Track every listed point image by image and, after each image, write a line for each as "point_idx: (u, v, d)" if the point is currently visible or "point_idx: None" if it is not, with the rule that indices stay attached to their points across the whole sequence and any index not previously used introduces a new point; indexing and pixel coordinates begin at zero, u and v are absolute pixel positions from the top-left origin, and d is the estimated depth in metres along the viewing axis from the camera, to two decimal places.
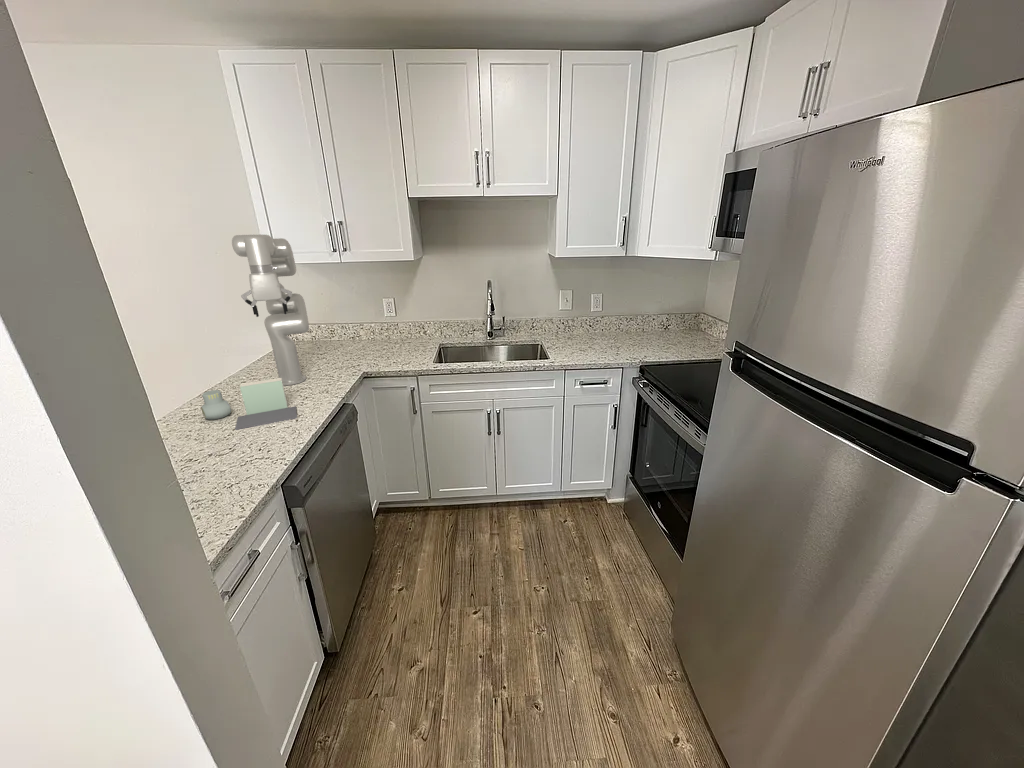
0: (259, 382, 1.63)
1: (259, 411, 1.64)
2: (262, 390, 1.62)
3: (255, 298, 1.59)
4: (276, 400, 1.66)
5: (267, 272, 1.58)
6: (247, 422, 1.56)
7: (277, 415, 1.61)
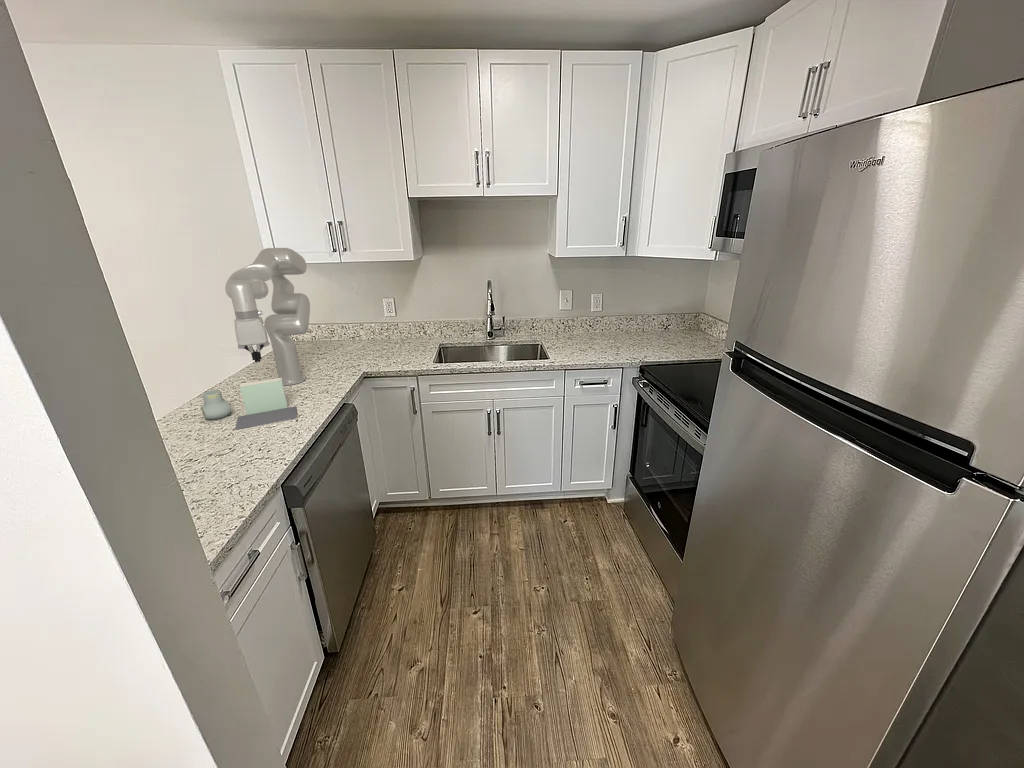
0: (259, 382, 1.63)
1: (259, 411, 1.64)
2: (262, 390, 1.62)
3: (240, 343, 1.61)
4: (276, 400, 1.66)
5: (252, 318, 1.59)
6: (247, 422, 1.56)
7: (277, 415, 1.61)
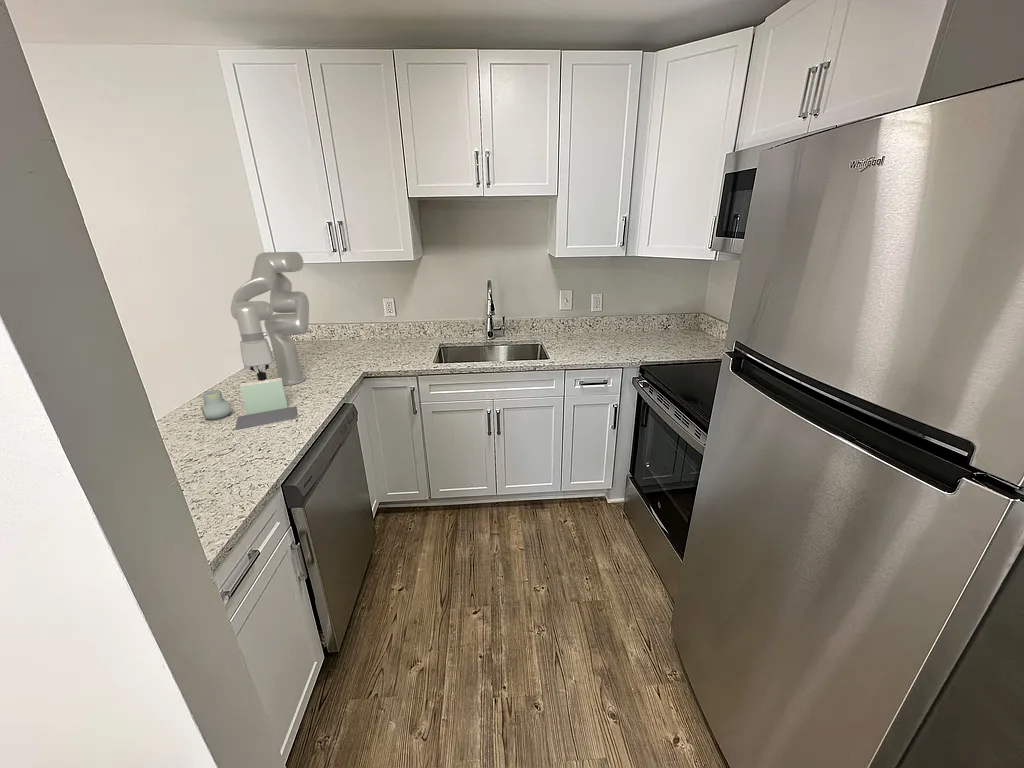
0: (259, 382, 1.63)
1: (259, 411, 1.64)
2: (262, 390, 1.62)
3: (246, 364, 1.64)
4: (276, 400, 1.66)
5: (257, 340, 1.62)
6: (247, 422, 1.56)
7: (277, 415, 1.61)
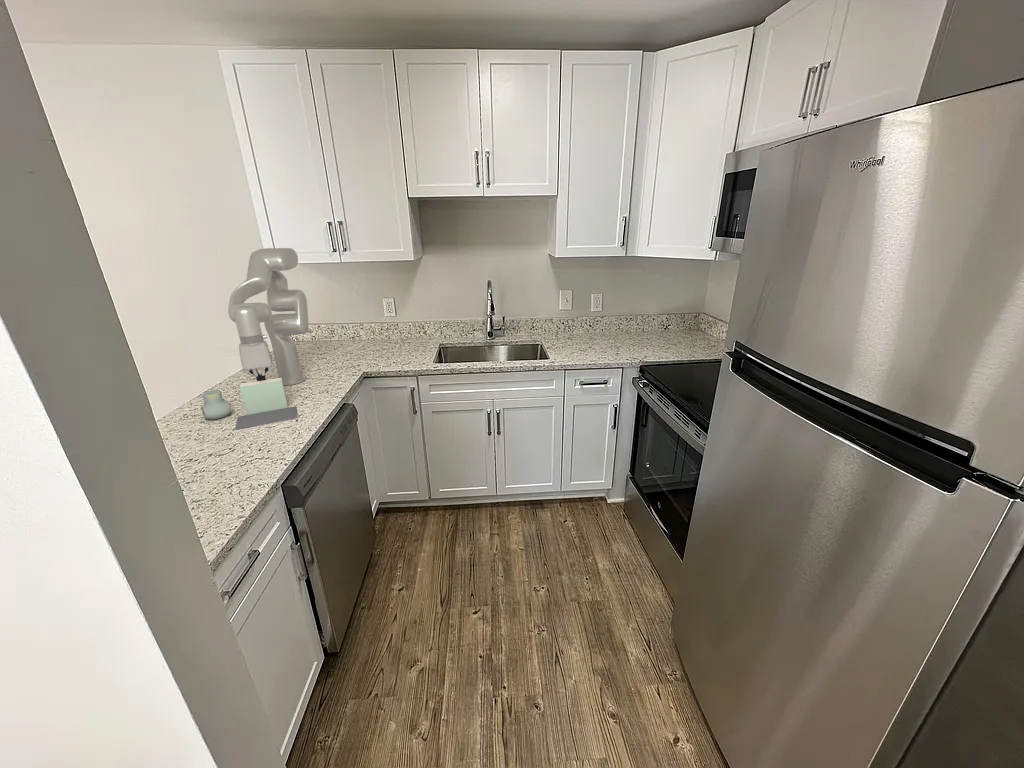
0: (259, 382, 1.63)
1: (259, 411, 1.64)
2: (262, 390, 1.62)
3: (245, 367, 1.60)
4: (276, 400, 1.66)
5: (256, 342, 1.58)
6: (247, 422, 1.56)
7: (277, 415, 1.61)
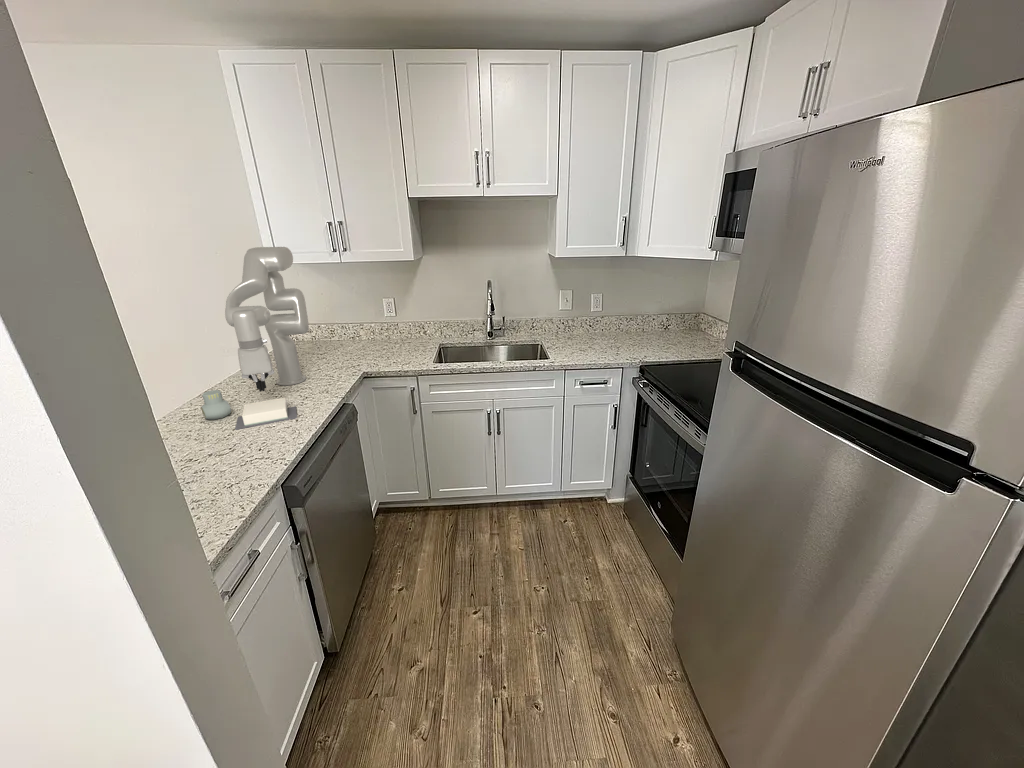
0: (263, 416, 1.55)
1: None
2: None
3: (244, 373, 1.55)
4: None
5: (256, 347, 1.53)
6: None
7: None
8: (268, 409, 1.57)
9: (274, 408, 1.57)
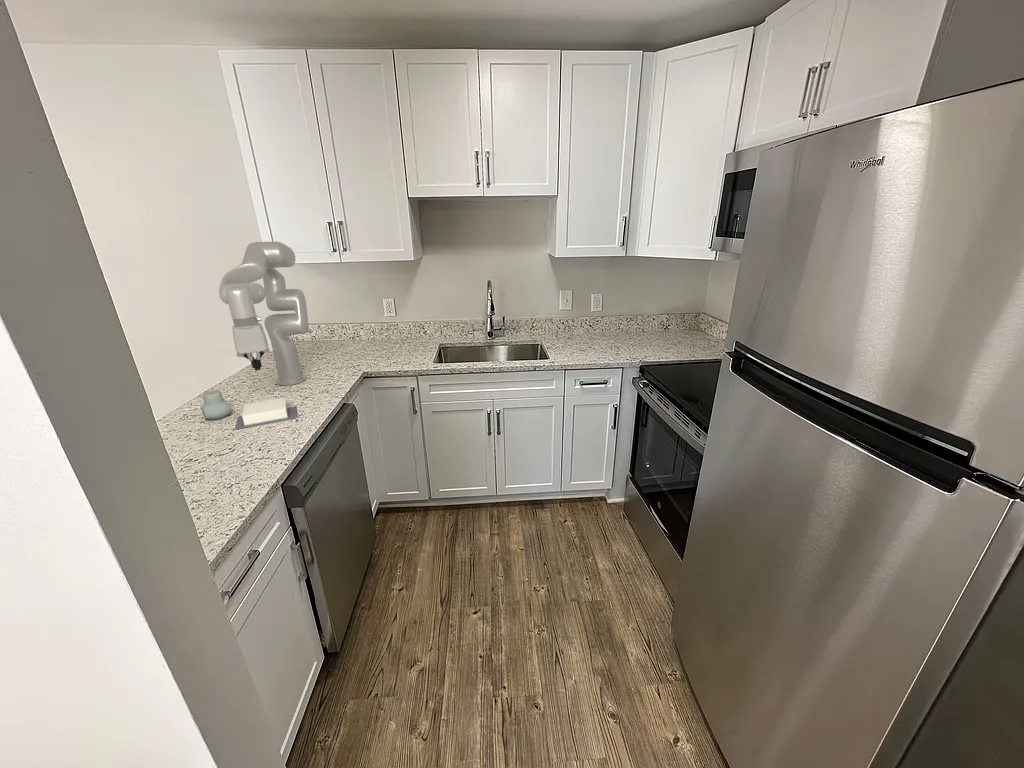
0: (263, 416, 1.55)
1: None
2: None
3: (239, 351, 1.52)
4: None
5: (251, 325, 1.50)
6: None
7: None
8: (268, 409, 1.57)
9: (274, 408, 1.57)
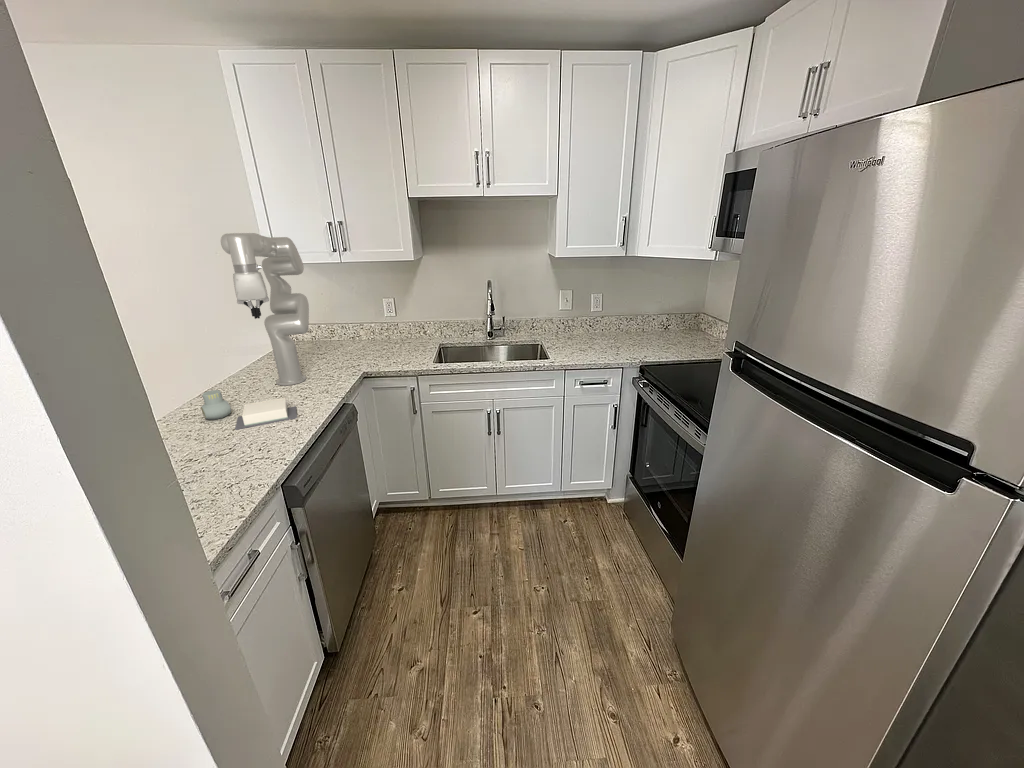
0: (263, 416, 1.55)
1: None
2: None
3: (239, 298, 1.57)
4: None
5: (251, 271, 1.55)
6: None
7: None
8: (268, 409, 1.57)
9: (274, 408, 1.57)
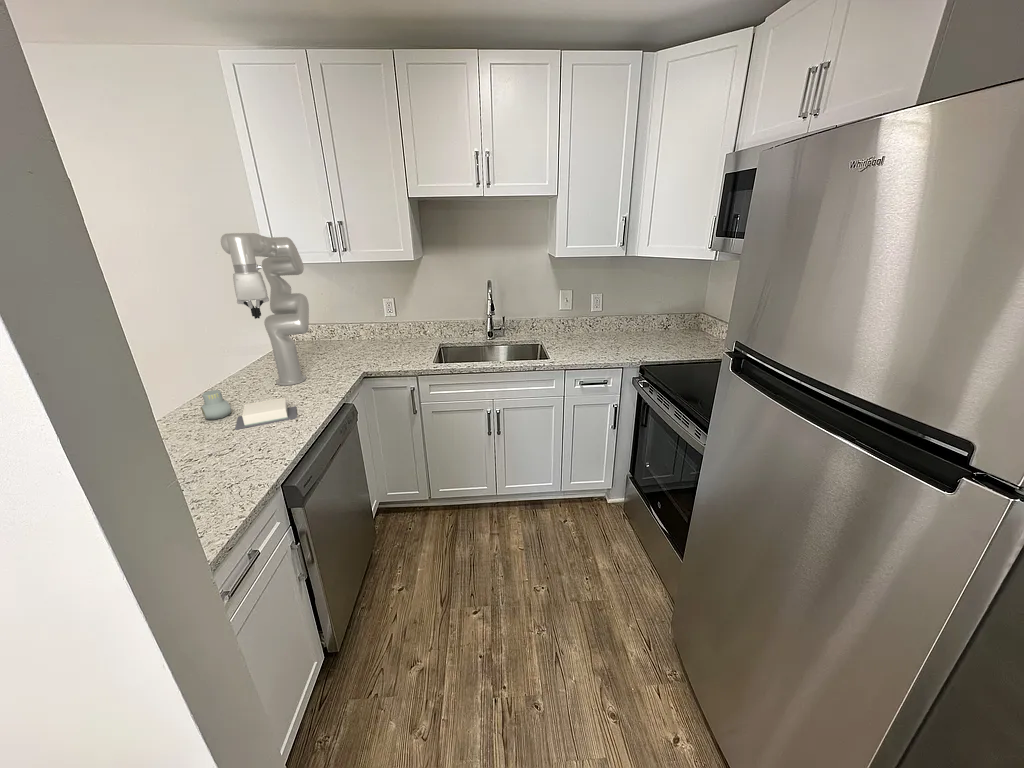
0: (263, 416, 1.55)
1: None
2: None
3: (239, 298, 1.57)
4: None
5: (251, 271, 1.55)
6: None
7: None
8: (268, 409, 1.57)
9: (274, 408, 1.57)
